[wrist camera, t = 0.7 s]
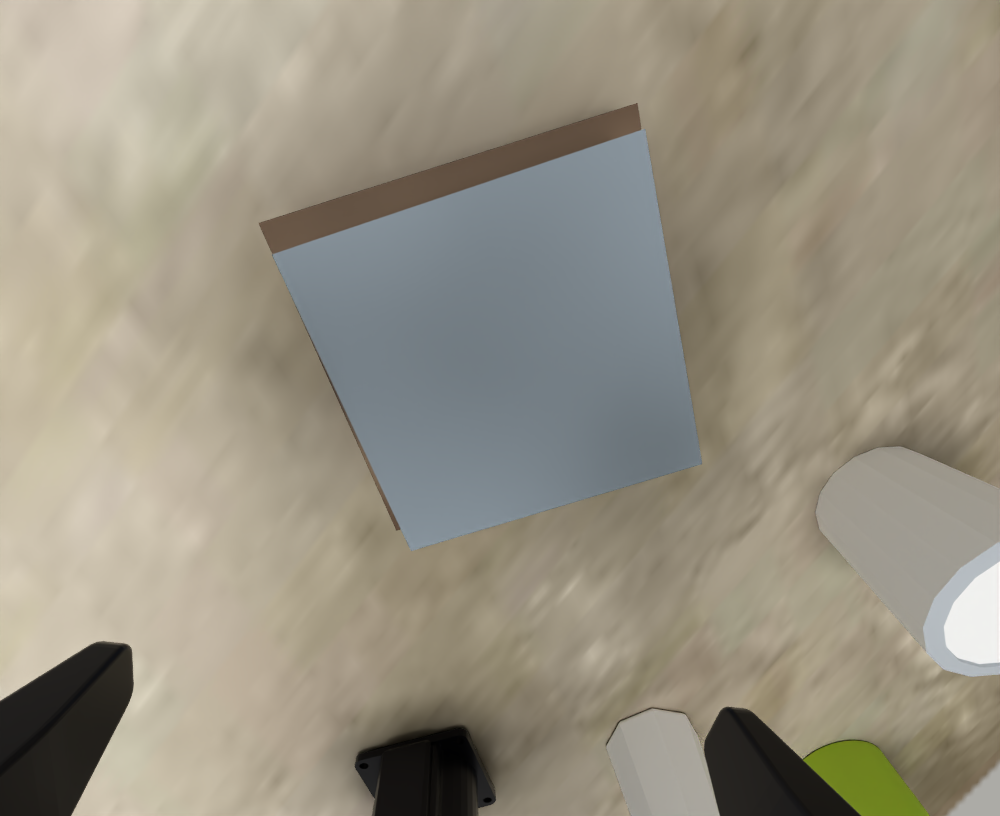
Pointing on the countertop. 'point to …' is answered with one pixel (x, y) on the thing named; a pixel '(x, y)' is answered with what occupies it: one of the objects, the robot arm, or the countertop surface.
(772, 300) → the countertop surface
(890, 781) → the soap dispenser
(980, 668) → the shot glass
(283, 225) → the tower base
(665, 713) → the pepper shaker
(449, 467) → the tower top
